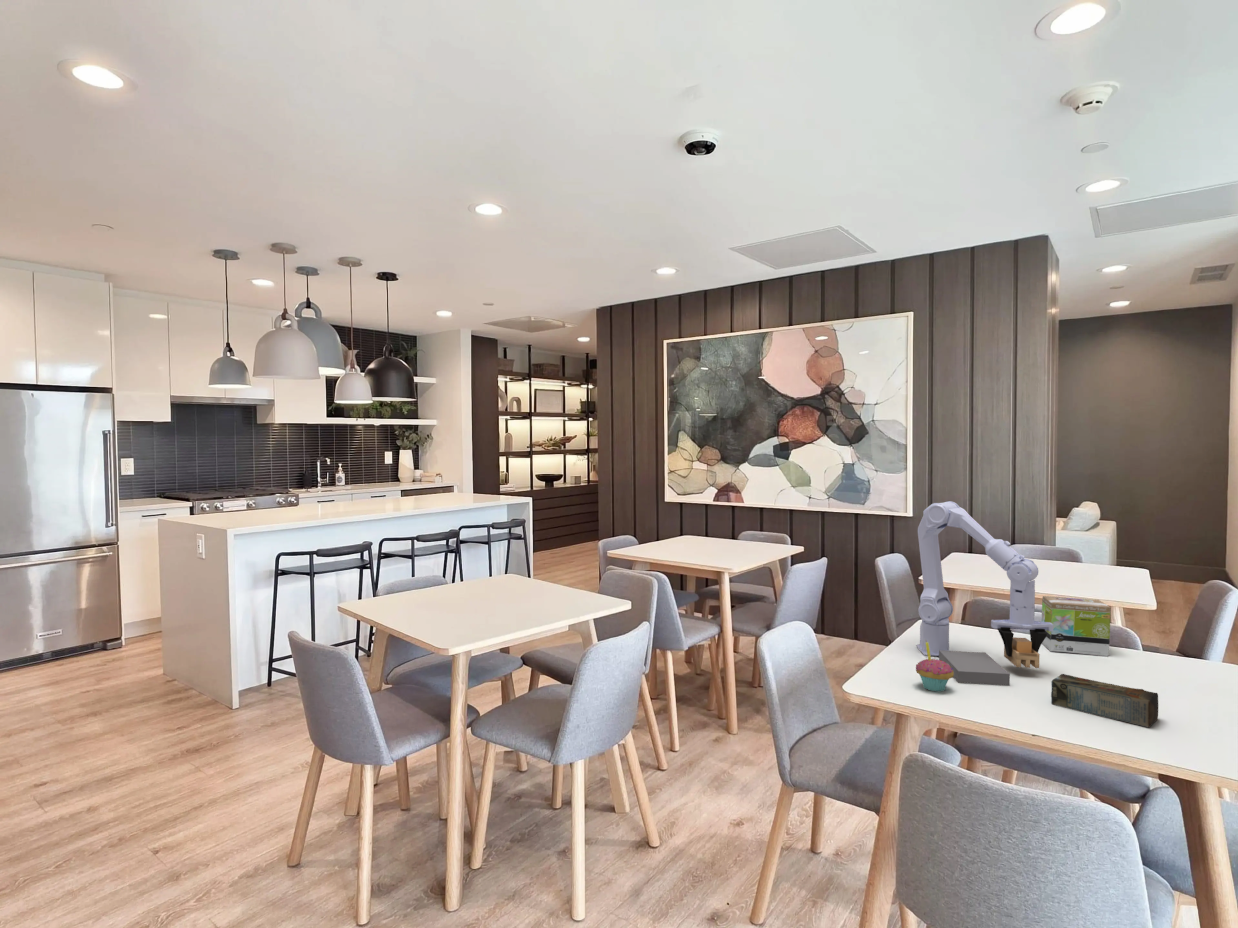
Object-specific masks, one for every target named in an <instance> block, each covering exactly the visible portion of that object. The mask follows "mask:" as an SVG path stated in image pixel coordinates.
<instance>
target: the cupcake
mask: <svg viewBox="0 0 1238 928" xmlns="http://www.w3.org/2000/svg"><path fill="white" fill-rule="evenodd" d="M925 640H926V639H925ZM926 649H927V655H926V656H927V658H926V659H923V660H920V661H919V662H917V664H915V670H916V673H917V674H919V677H920V680H921V682H922V685H923V687H924V689H926V690H927V689H928V691H932V692H943V691H945V690H946V686H947V684H948V682H949V680H950V679H952V678H953V679H954V677H953V676H954V672H953V670H952V669H953V668H951V666H949V664H947V663H946V662H944V661H942V660H939V659H935V658H932V657H931V656H930V650H929V644H928V642H927V640H926Z"/></svg>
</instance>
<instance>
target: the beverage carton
mask: <svg viewBox="0 0 1238 928" xmlns="http://www.w3.org/2000/svg"><path fill="white" fill-rule="evenodd" d="M1050 697H1051V699H1050V700H1051V701H1050V703H1051V705H1054V706H1057V707H1061V708H1066V709H1070V710H1074V711H1077V712H1083V713H1086V714H1089V713H1090V715H1093V716H1099V717H1102V718H1103V717H1104V718H1107V719H1112V720H1116V721H1121V722H1125V723H1128V724H1133V725H1138V726H1140V727H1145V728H1151V726H1153V725H1154V724H1155V722H1157V721H1158V719H1159V694H1158V692H1153V691H1149V690H1145V689H1143V688H1134V687H1128V686H1123V685H1118V684H1113V683H1107V682H1104V681H1103V682H1102V681H1097V680H1094V679H1092V680H1091V679H1088V678H1083V677H1078V676H1073V675H1070V674H1065V673H1061V674H1059V675H1058V676H1056V677H1055V678H1054V679H1052V680H1051V692H1050Z"/></svg>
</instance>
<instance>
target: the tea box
mask: <svg viewBox="0 0 1238 928" xmlns="http://www.w3.org/2000/svg"><path fill="white" fill-rule="evenodd" d="M1111 612H1112V607H1111V606H1109V604H1106V603H1104V602H1103V601H1101V600H1100V599H1093V598H1082V597H1081V598H1079V597H1064V596H1049V595H1042V601H1041V619H1040V620H1041V621H1040V622H1050V623H1052V624H1053V631H1047V630H1045V632H1046V633H1047V637H1046V638H1045V639H1044V641H1043V642H1042V644H1041V645H1043V646H1044V647H1045V648H1046V649H1047V650H1048V651H1049V652H1058V653H1073V654H1081V655H1092V656H1100V657H1101V656H1102V657H1109V655H1110V641H1111V640H1110V639H1111V618H1112V617H1111V616H1112V615H1111V614H1112V613H1111Z"/></svg>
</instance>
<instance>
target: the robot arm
mask: <svg viewBox="0 0 1238 928" xmlns="http://www.w3.org/2000/svg"><path fill="white" fill-rule="evenodd" d="M922 513H923V516H922V518H921V520H920V522H919V525H918V526H917V537H918V545H919V554H920V555H919V557H920V566H921V575H922V584H923V590H922V593H921V594H920V597H919V600H920V603H919V606H918V608H917V609H918V610H917V613H918V615H919V617H920V619H921V622H920V627H919V644H918V643H917V644H916V645H915V646H916V648H918V649H919V651H920V652H921V653H922V654H923V656H928V655H927V649H926V640H927V642H928V644H929V650H930V656H934V657H939V650H944V651H950V620H949V617H951V616H952V614H953V612H954V607H953V604H952V602H951V601H950V598H949V594H948V592H947V590H946V589H945V586H944V577H943V570H942V569H943V568H942V560H941V559H942V558H941V549H940V542H939V534H940V533H942V532H943V530H944V529H946V527H951V528H957V529H958V528H959V529H961V530H962V531H964V532H965V533H967V535H969V536H970V537H972V538H973V539H974V540H975V541H976V542H977V543H979V544H980V545H982V546H983V547H984V550H985V555H986V556H987V557H989V558H990V559H991V560H992V561H993V562H995V563H996V565H998V566H999V567H1000V568H1001V569H1002V570H1003V571H1005V572H1006V575H1007V578H1008V579H1009V582H1010V589H1009V593H1010V594H1009V618H1008V619H991V620H990V627H991V628H992V629H993V630H997V632H998V633H999V635H1000V638H1001V639H1002V642H1003V645H1004V646H1005V650H1006V655H1007V656H1009V657H1012V640H1013V637H1014V635H1015V634H1014V633H1013V632H1012V630H1025V631H1026V630H1029V635H1030V641H1031V642H1032V649H1033V650H1035V651H1036V652H1037V653H1039V651H1040V648H1041V645H1043V644H1042V642H1043V641H1044V639H1045V638H1046V637H1047V633H1046V632H1045V630H1047V631H1053V624H1052V623H1050V622H1041V621H1037V620H1035V610H1036V609H1035V608H1036V607H1035V606H1036V604H1035V603H1036V586H1035V585H1036V584H1035V583H1036V581H1035V579H1037V577H1038V575H1039V567H1038V566H1037V564H1036V563H1035V562H1034V560H1032V559H1029V558H1026V556H1025V555H1024V554H1020V553H1019V552H1018V551H1016V550H1015V549H1014V548H1013V547H1012V546H1010V545H1011V543H1010V542H1009V541H1008V540H1003V539H1002V538H1001V539H1000V538H999V539H998V538H994V537H993V536H992V535H991V534H990V533H989V532H988V531H987V530H986V529H985V528H984V527H983V526H982V525H980V524H979V523H978V521H976V520H975V519H974V518H973V517H972V516H971V515H970V514H969V513H968V512H967V511H966V509H965V508H962V507H960V506H959V505H958V503H956V502H954V501H949V500H948V501H945V502H933V503H931V504H930V505H929V506H928V507H926V508H925V509H924V510H923V511H922ZM1011 629H1012V630H1011ZM925 639H926V640H925ZM1004 646H1003V647H1004Z"/></svg>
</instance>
